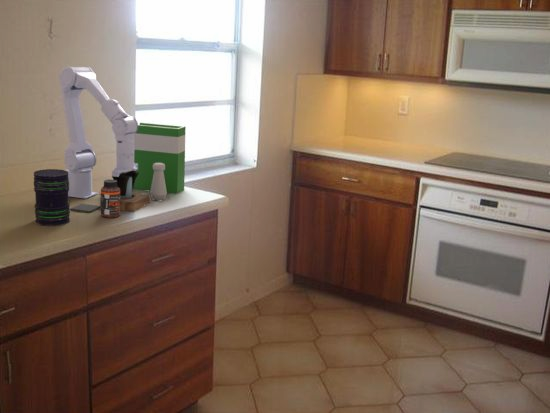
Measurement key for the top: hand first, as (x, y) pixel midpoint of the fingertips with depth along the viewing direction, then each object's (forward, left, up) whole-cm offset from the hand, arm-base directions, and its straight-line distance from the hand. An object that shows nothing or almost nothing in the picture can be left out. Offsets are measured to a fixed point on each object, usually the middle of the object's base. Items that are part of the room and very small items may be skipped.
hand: (125, 193), depth 206 cm
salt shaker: (+6, +12, -4) cm, 14 cm away
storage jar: (-11, -26, -4) cm, 28 cm away
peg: (0, 0, -3) cm, 3 cm away
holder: (0, 0, -4) cm, 4 cm away
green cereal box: (0, +26, -4) cm, 26 cm away
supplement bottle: (+2, -13, -4) cm, 14 cm away
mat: (-9, -10, -4) cm, 14 cm away
